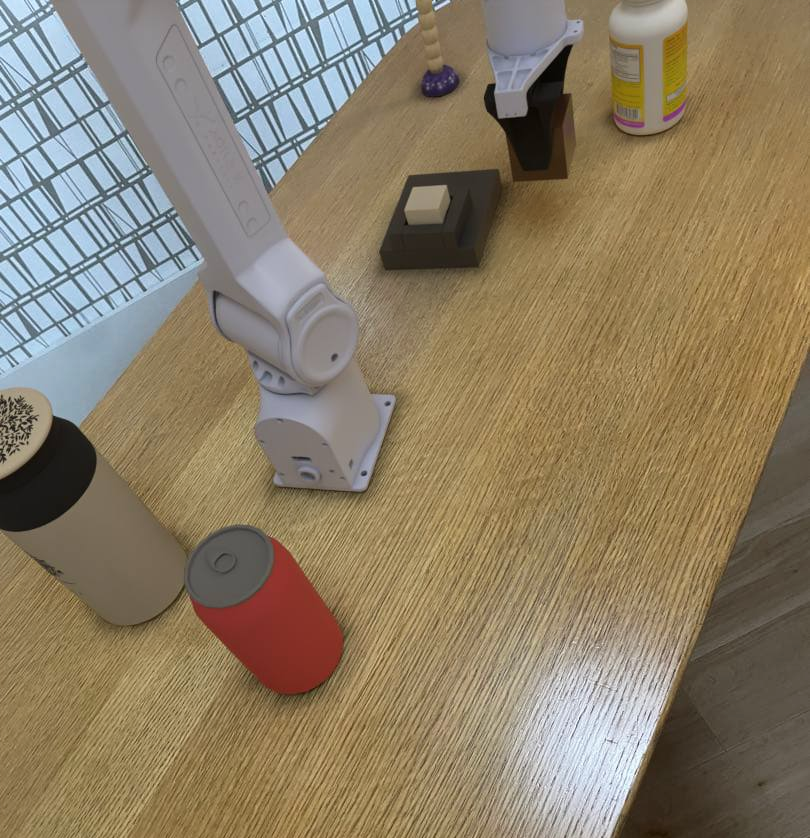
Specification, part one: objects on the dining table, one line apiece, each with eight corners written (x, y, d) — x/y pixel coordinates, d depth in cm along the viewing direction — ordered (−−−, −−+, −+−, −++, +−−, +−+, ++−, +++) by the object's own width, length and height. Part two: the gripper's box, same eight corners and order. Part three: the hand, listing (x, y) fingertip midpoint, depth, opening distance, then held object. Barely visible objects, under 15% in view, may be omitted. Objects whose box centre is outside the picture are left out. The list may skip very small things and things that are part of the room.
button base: (478, 268, 75) (470, 230, 72) (384, 271, 78) (372, 235, 75) (502, 188, 80) (495, 150, 77) (413, 194, 83) (403, 157, 80)
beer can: (298, 595, 60) (229, 499, 51) (365, 639, 57) (304, 545, 47) (237, 666, 58) (152, 581, 49) (302, 716, 55) (225, 635, 45)
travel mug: (167, 520, 68) (32, 362, 53) (206, 585, 63) (69, 432, 48) (82, 577, 67) (-80, 432, 52) (115, 647, 62) (-53, 510, 47)
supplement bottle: (682, 91, 81) (686, -56, 71) (688, 131, 78) (693, -18, 67) (611, 104, 83) (604, -38, 73) (614, 144, 79) (607, 0, 69)
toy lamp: (470, 76, 92) (438, -99, 79) (449, 101, 91) (412, -73, 77) (433, 73, 94) (396, -97, 81) (412, 97, 93) (370, -72, 79)
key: (442, 225, 74) (438, 208, 72) (408, 226, 75) (403, 210, 73) (450, 201, 75) (446, 184, 74) (417, 203, 76) (412, 186, 75)
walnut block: (567, 179, 68) (562, 127, 64) (513, 182, 69) (504, 132, 66) (576, 144, 70) (571, 92, 66) (523, 149, 71) (515, 98, 68)
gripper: (559, 17, 53) (577, 203, 64) (592, -94, 60) (603, 91, 70) (452, 31, 55) (487, 208, 66) (495, -77, 62) (520, 99, 73)
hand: (541, 148), depth 68 cm, fingers closed on walnut block, 4 cm apart
